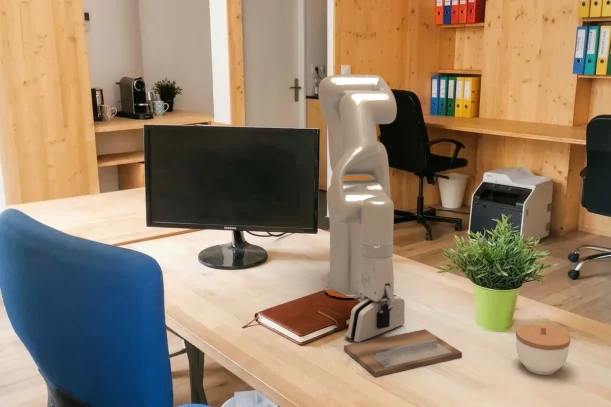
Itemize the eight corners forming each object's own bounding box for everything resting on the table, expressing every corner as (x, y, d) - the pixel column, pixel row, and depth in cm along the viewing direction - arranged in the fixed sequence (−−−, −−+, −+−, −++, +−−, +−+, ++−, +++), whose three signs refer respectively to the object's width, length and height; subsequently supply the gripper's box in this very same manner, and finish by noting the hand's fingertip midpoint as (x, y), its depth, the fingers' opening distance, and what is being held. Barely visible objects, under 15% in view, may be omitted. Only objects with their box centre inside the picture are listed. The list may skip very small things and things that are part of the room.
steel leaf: (371, 357, 135) (371, 351, 135) (436, 343, 142) (436, 338, 141) (384, 368, 130) (384, 362, 130) (451, 353, 137) (451, 347, 136)
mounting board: (343, 350, 141) (344, 345, 141) (424, 333, 150) (425, 329, 150) (375, 377, 129) (375, 371, 129) (461, 357, 138) (462, 352, 137)
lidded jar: (578, 377, 128) (582, 334, 127) (531, 382, 126) (534, 339, 124) (548, 354, 139) (551, 315, 137) (504, 359, 137) (506, 319, 135)
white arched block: (390, 322, 157) (393, 285, 155) (404, 329, 154) (408, 291, 151) (342, 340, 147) (345, 301, 144) (357, 348, 143) (360, 308, 141)
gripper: (345, 243, 152) (344, 312, 156) (382, 261, 136) (380, 338, 140) (371, 239, 155) (370, 307, 159) (410, 257, 139) (408, 332, 143)
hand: (375, 321), depth 149 cm, fingers open, 6 cm apart
